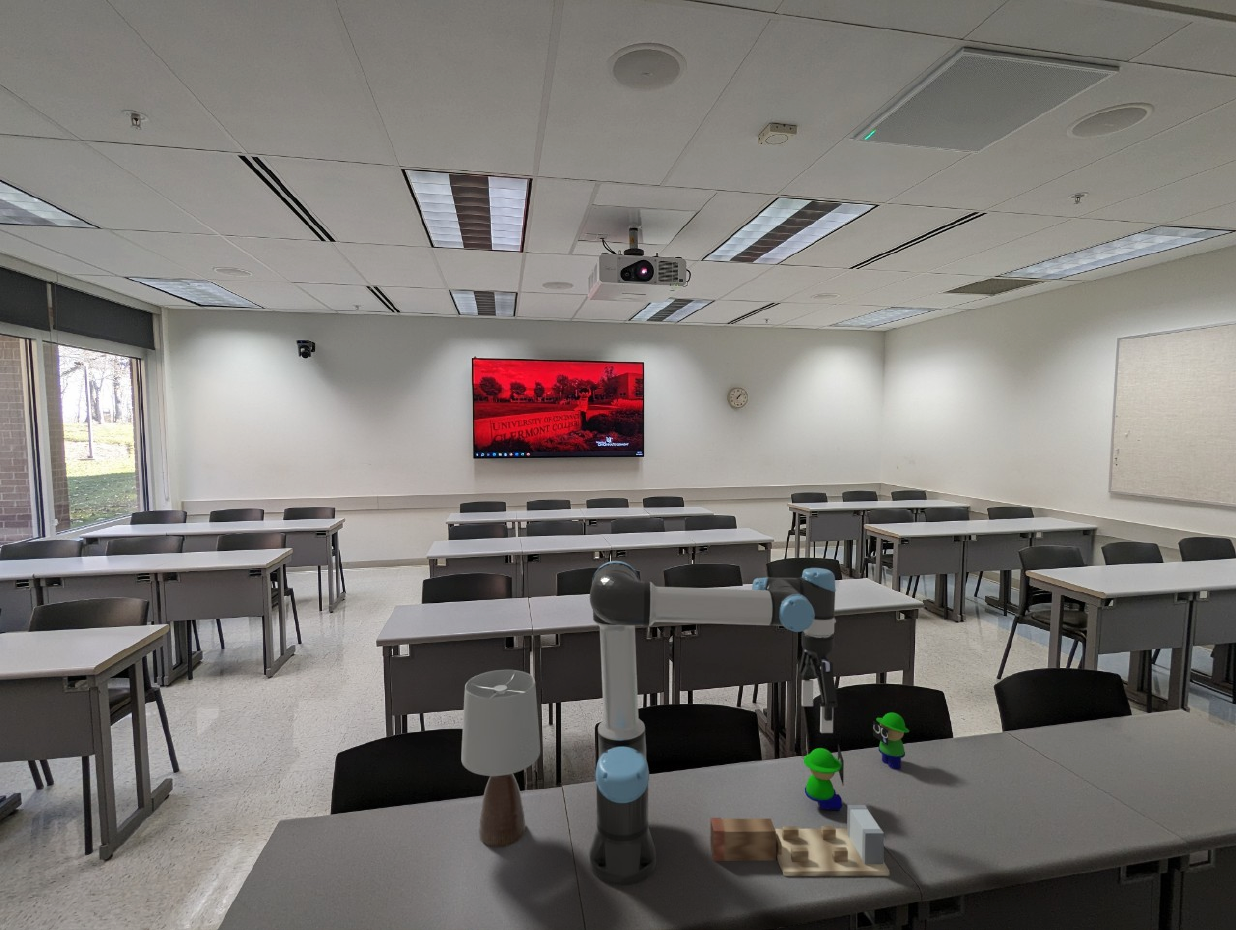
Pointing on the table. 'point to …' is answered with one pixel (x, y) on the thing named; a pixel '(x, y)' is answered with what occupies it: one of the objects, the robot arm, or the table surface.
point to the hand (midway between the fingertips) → (816, 718)
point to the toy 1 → (824, 778)
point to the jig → (821, 853)
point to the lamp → (500, 747)
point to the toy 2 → (890, 738)
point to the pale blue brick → (865, 834)
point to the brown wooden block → (742, 839)
